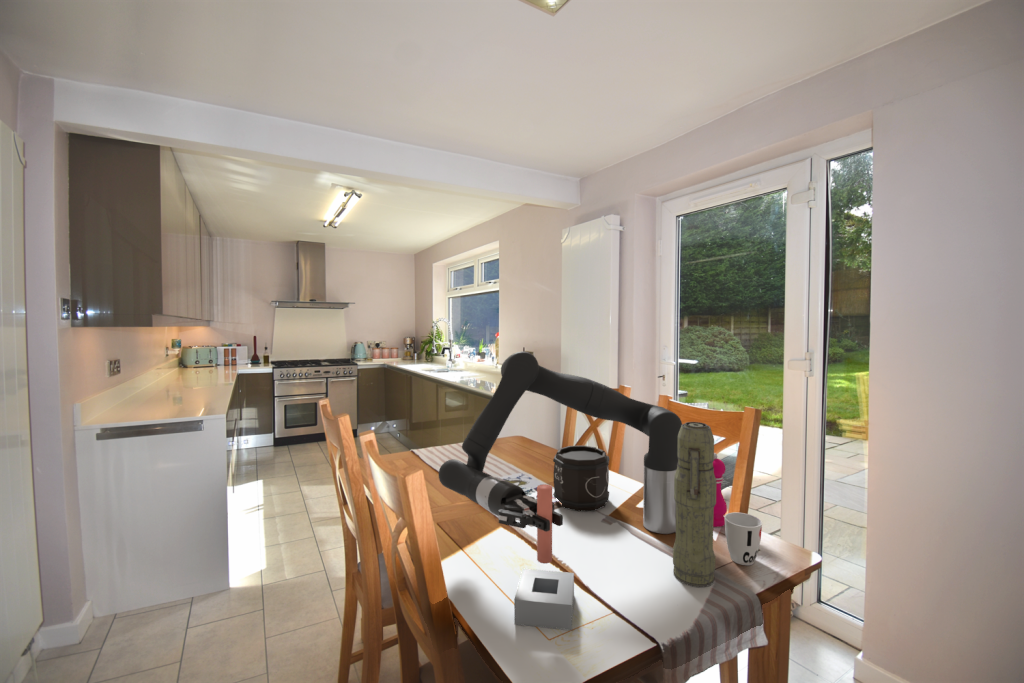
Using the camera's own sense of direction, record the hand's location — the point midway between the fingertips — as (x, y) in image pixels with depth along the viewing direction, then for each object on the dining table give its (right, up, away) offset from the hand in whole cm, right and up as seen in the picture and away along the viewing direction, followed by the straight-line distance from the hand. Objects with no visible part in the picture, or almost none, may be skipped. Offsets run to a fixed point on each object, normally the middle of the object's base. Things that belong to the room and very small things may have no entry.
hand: (555, 523), depth 93 cm
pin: (-2, -8, +3) cm, 9 cm away
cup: (+47, -17, +21) cm, 55 cm away
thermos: (+33, -18, +15) cm, 40 cm away
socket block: (-2, -19, +3) cm, 19 cm away
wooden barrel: (+14, -15, +58) cm, 61 cm away
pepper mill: (+49, -16, +41) cm, 66 cm away
